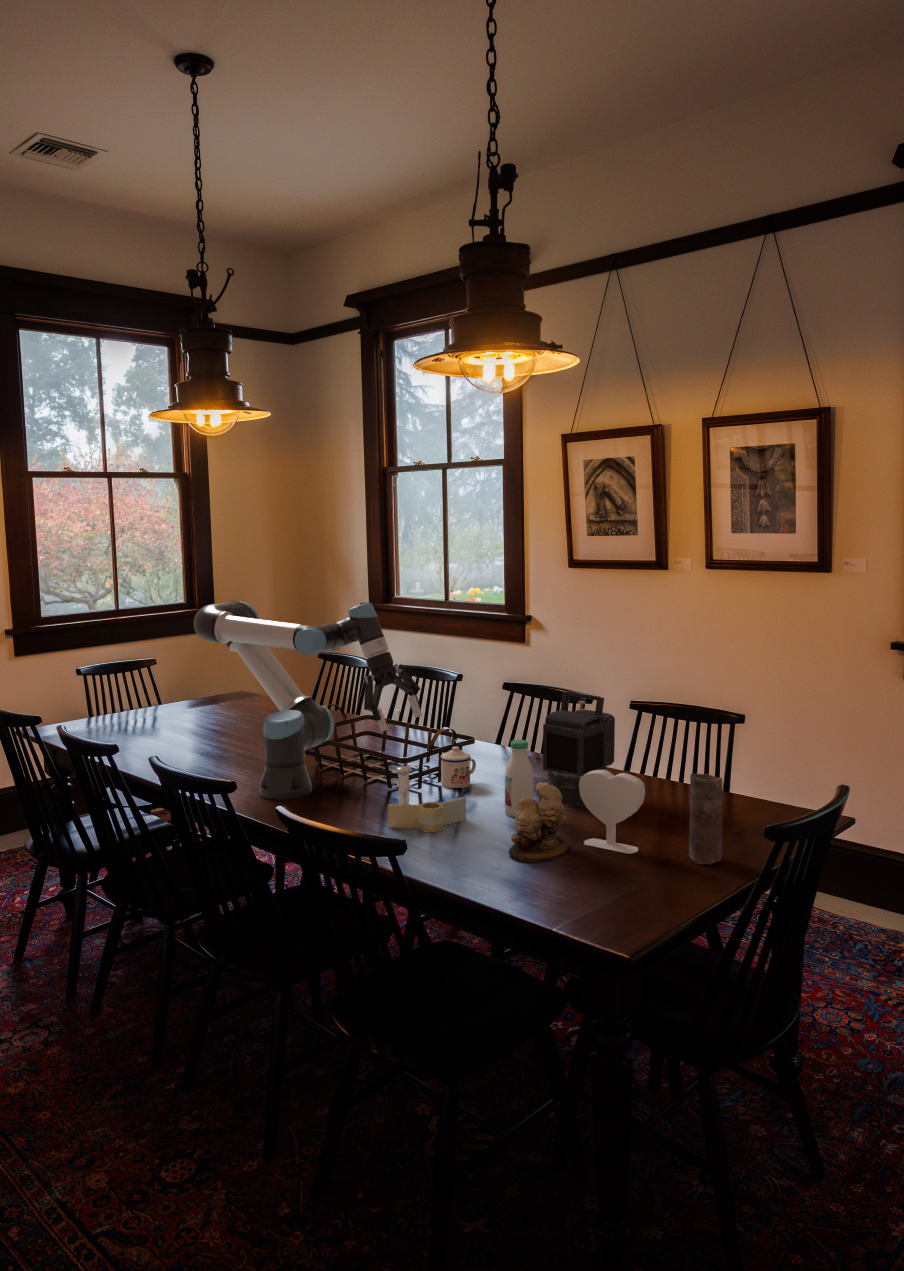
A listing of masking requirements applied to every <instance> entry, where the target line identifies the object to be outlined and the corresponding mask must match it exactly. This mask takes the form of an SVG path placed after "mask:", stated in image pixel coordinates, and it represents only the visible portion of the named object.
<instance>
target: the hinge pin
mask: <svg viewBox="0 0 904 1271" xmlns="http://www.w3.org/2000/svg"><path fill="white" fill-rule="evenodd" d="M411 768H412V767H411V766H410V765H399V766H396V767H395V771H396V773H398V774H397V781H398V782H397V785H398V790H397V791H398V804H405V805H410V779H409V778H410V776H409V775H410V774H409V772H411V771H412V769H411Z"/></svg>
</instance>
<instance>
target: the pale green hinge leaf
mask: <svg viewBox="0 0 904 1271" xmlns="http://www.w3.org/2000/svg"><path fill="white" fill-rule="evenodd" d="M440 803H441V804H443V805H444V813H443V815H442V816H438V817H434V818H433V817H423V816H420V815H418V822H419V823H421V824H424V825H437V824H441V823H443V820H444V825H445V826H448V825H447V824H449V825H452V824H451V823H453V824H456V823H458V822H457V821H460V822H462V821H461V820H464V821H466V820H467V805H466V804H467V799H466V797H464V796H462V797H457V798H453V799H450V800H449V799H448V800H446V801H443V802H442V801H441V802H440ZM465 819H466V820H465ZM455 822H456V823H455Z"/></svg>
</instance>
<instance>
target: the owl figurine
mask: <svg viewBox="0 0 904 1271" xmlns="http://www.w3.org/2000/svg"><path fill="white" fill-rule="evenodd" d="M535 794H536V796H537V797H538V798H537V799H538V802H537V801H536V800H533V799H532V798H529V797H523V798H521V799H520V803H519V805H518V808H517V813H516V817H515V820H514V821H515V823H514V830H515V832H516V833H514V834H511V837H510V840H511V842H512V843H513V844H512V845H511V847H510V848H509V850H508V855H509V858H511V859H512V860H513V861H516V862H519V863H523V864H540V863H546V862H550V861H553V860H556V859H559V858H561V857H562V856H564V855H565V854H566V853H567V852H568V850H569V842H568V841H567V840H566V839H565V838H563V837H562V836H561V835H559V831H560V829H561V827H562V825H564V822H565V821H566V817H567V816H565V815H563V813H564V811H565V805H563V804H562V803H561V802H562V794H561V793H560V791H559V789H558V788H557V787H554V786H553V785H552V784H551V783H548V782H541V781H540V782H538V783H537V784H536V786H535Z"/></svg>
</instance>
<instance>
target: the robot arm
mask: <svg viewBox="0 0 904 1271" xmlns="http://www.w3.org/2000/svg"><path fill="white" fill-rule="evenodd" d="M347 612H348V617H346V618H344V619H341V620H337V621H336V622H332V623H326V624H321V625H307V624H301V623H300V624H299V623H292V622H285V621H284V622H283V621H278V620H277V621H275V620H267V619H260V617H259V613H258V611H257V610H256V609H255V608H254V606H252V605H251V604H249V603H248V602H245V601H237V600H233V601H228V602H224V603H223V602H220V603H212V604H211V603H210V604H207V605H204V606H203V607H201V608H200V609H199V610H198V611H197V612H196V614H195V616H194V619H193V628H194V632H195V634H196V635H197V637H199V638H200V639H201V640H202V641H205V642H207V643H215V644H216V643H218V644H224V645H225V646H226V647H227V648H228V650H229V651H230V652H235V653H237V654H238V655H239V656H240V658H241V660H243V662H244V664H246V666H247V668H248V669H249V671H251V673H252V674H253V676H254V677H255V678H256V680H257V681H258V682H259V684H260V685H261V687H262V688H263V689H264V691H265V692H266V694H267V695H268V696H269V697H270V699H271V700H272V702H273V703H274V704H275V706H276V708H277V709H278V710H279V711H275V712H272V713H270V714H269V715H267V716H266V717H265V718H264V721H263V728H262V733H263V749H264V750H263V751H264V754H263V755H264V770H263V773H262V775H261V776H262V777H261V779H260V783H259V795H260V797H262V798H264V799H268V800H269V799H270V800H281V801H282V800H292V799H299V798H303V797H305V796H307V795H310V794H311V793H312V791H313V787H312V786H313V785H312V780H311V778H310V775H309V772H308V770H307V766H306V752H305V751H307V750H310V749H312V748H314V747H318V746H321V745H323V743H325V742H327V741H328V740H329V739H331V737H332V735H333V733H334V731H335V720H334V719H335V718H334V716H333V714H332V712H331V711H330V709H328V708H327V707H326V706H324V705H320V704H317V703H316V702H315V700H314V699H313V698H312V696H308V695H304V694H303V693H302V691H301V690H300V688H299V687H298V686H297V684H296V682H294V681H293V679H292V678H291V676H290V675H289V674H288V672H287V670H286V669H285V668H284V666H283V665H282V664H281V663H280V661H279V660H278V659H277V657H276V656H275V654H274V652H272V651H271V648H277V649H278V648H279V649H285V650H293V651H298V652H300V653H301V654H303V655H317V654H320V653H323V652H327V653H328V652H329V653H330V652H334V651H336V650H337V651H338V650H340V649H341V648H343V647H345V646H349V645H350V644H352V643H356V642H358V643H359V646H360V649H361V652H362V654H363V658H364V659H366V660H365V662H366V666H367V668H368V671H369V672H371V674H368V675H366V676H363V683H364V697H363V698H364V700H363V702H364V703H363V707H364V709H363V710H365V711H369V712H371V713H372V716H373V719H374V721H375V722H377V725H378V728H379V730H380V732H381V733H382V732H385V731H387V730H389V728H388V725H387V722H386V719H385V716H384V714H383V711H382V710H383V709H382V708H381V707H379V705H380V700H381V696H382V692H383V689H384V688H385V687H386V686H388V685H394V686H396V687H397V688H399V689H400V690H401V691H403V692H405V694H407V695H408V697H407V700H408V702H409V705H410V708H411V711H412V713H413V717H414V718H415V719H416V718H420V717H422V716H423V714H422V711H421V708H420V701H419V698H418V694H419V692H420V691H421V686H419V685H418V684H417V683H416V681H415V680H414V679H413V678H412V676H410V674H409V673H408V671H406V669H405V667H404V664H402V663H401V664H398V665H395V666H394V660H393V656H392V653H391V652H390V651H388V650H389V649H390V648H389V645H388V643H387V641H386V638H385V634H384V632H383V630H382V629H383V628H382V627H381V624H380V621H379V618H378V614H377V613H376V610H375V608H374V605H373V604H372V603H371V602H364V603H361V604H358V605H355V606H353V607H350V609H348V611H347ZM270 647H271V648H270Z"/></svg>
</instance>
